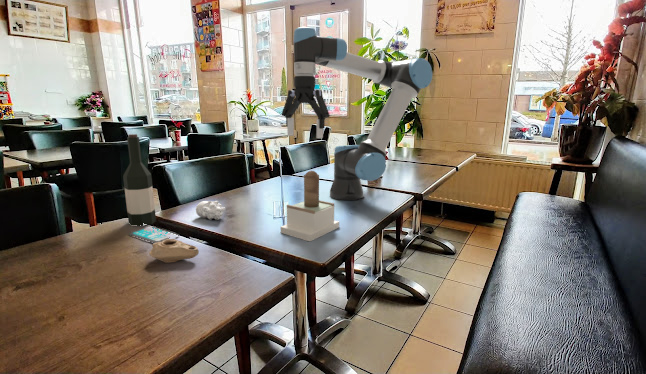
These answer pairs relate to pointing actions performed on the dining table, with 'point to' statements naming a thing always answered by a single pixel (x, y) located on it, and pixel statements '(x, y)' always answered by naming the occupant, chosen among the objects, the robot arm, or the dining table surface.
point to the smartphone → (151, 235)
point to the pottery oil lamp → (173, 250)
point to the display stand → (310, 220)
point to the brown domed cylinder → (311, 189)
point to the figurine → (210, 210)
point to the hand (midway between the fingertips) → (304, 136)
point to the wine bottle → (138, 187)
